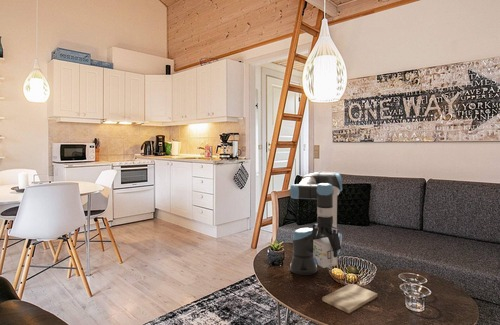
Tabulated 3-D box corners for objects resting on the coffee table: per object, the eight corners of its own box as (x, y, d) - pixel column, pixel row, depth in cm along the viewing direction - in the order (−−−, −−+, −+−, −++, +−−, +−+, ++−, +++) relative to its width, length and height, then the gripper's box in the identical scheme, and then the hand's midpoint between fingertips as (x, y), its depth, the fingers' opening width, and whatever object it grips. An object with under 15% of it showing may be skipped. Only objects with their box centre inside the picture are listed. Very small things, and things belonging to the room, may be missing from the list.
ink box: (313, 262, 155) (312, 239, 154) (327, 259, 158) (326, 236, 157) (323, 268, 147) (323, 244, 146) (337, 265, 150) (337, 241, 149)
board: (322, 300, 140) (322, 297, 140) (351, 286, 154) (351, 283, 154) (348, 313, 129) (348, 309, 129) (377, 296, 143) (377, 293, 143)
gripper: (302, 212, 157) (303, 255, 159) (339, 221, 139) (339, 269, 141) (312, 210, 162) (313, 252, 163) (349, 218, 144) (349, 264, 146)
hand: (325, 260), depth 152 cm, fingers closed on ink box, 9 cm apart
